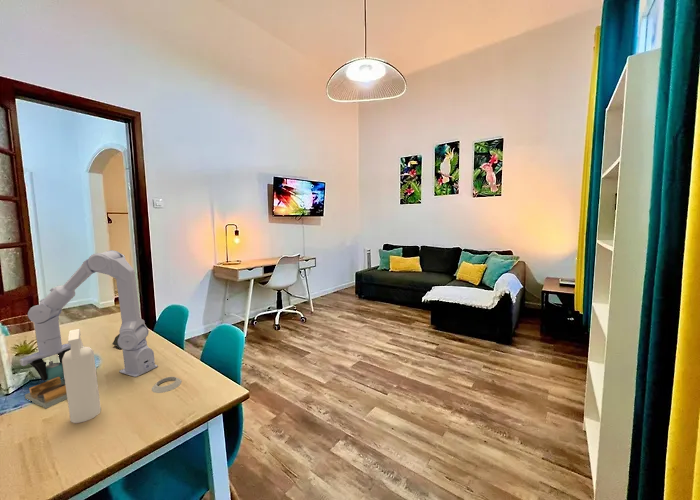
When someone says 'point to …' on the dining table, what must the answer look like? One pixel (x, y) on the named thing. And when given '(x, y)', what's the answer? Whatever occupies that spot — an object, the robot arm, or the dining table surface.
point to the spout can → (54, 370)
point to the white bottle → (80, 380)
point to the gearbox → (48, 392)
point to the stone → (116, 341)
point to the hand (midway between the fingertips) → (54, 375)
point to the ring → (169, 387)
